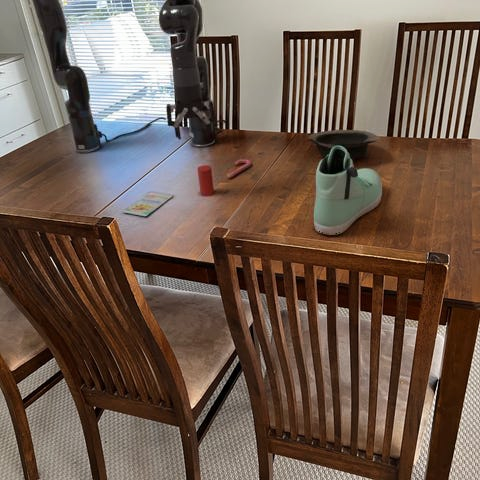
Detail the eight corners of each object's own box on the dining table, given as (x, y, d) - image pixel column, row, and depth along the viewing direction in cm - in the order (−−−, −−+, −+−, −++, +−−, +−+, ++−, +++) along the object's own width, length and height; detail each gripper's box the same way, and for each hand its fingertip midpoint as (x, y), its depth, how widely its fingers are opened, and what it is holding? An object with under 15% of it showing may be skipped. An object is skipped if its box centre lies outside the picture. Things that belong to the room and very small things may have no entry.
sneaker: (389, 187, 148) (396, 123, 138) (356, 242, 123) (361, 168, 112) (346, 181, 154) (350, 119, 144) (306, 232, 129) (307, 161, 118)
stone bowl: (336, 174, 158) (335, 147, 154) (295, 157, 179) (293, 133, 174) (394, 156, 167) (394, 130, 163) (348, 141, 187) (348, 118, 183)
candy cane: (215, 176, 165) (215, 172, 164) (240, 161, 175) (240, 157, 174) (229, 180, 162) (229, 175, 161) (254, 164, 172) (254, 160, 171)
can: (205, 197, 152) (202, 171, 148) (197, 192, 155) (194, 167, 151) (216, 192, 154) (213, 167, 150) (209, 188, 157) (206, 164, 153)
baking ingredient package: (121, 211, 146) (150, 191, 157) (122, 212, 146) (150, 192, 158) (145, 215, 142) (173, 195, 154) (145, 216, 143) (173, 196, 154)
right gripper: (161, 87, 133) (170, 143, 142) (212, 82, 134) (217, 138, 142) (162, 81, 140) (170, 135, 148) (211, 77, 141) (216, 131, 149)
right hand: (193, 137), depth 145 cm, fingers open, 8 cm apart
